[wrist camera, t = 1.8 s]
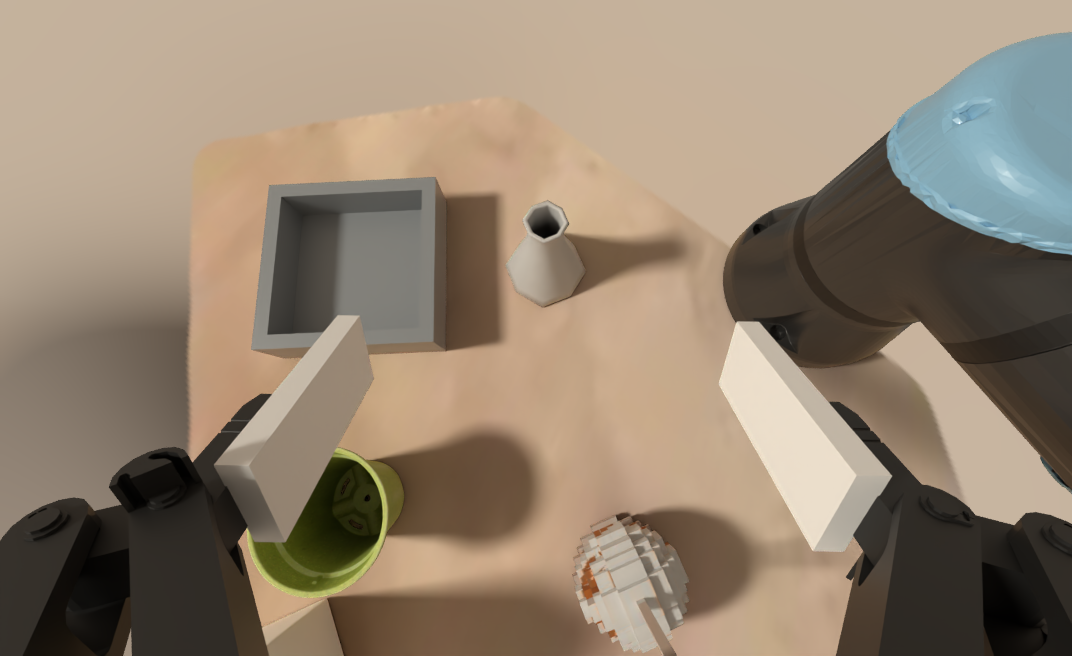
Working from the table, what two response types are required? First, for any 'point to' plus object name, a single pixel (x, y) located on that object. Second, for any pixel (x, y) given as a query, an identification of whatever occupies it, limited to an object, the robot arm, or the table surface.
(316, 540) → the plant pot
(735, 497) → the table surface
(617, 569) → the decorative ornament
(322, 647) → the milk carton
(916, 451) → the table surface
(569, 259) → the flask
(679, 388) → the table surface
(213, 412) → the table surface
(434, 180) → the open box
